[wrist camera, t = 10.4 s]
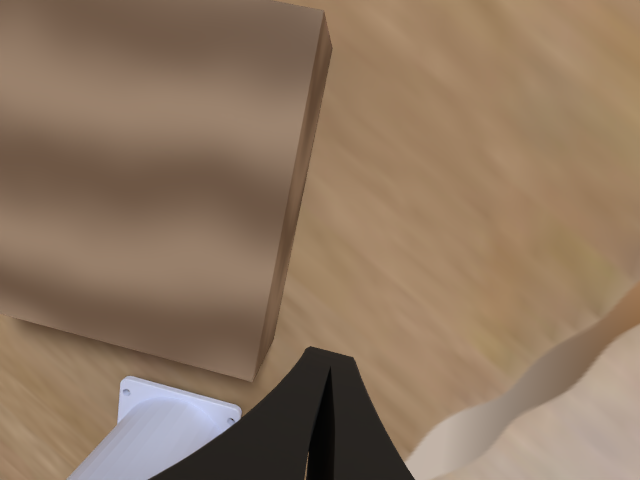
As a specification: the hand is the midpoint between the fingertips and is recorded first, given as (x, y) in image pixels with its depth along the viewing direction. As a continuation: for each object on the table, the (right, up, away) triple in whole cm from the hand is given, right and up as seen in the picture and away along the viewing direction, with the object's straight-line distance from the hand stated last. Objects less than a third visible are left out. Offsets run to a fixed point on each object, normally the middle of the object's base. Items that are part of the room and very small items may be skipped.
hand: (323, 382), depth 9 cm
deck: (-9, +7, +9) cm, 15 cm away
